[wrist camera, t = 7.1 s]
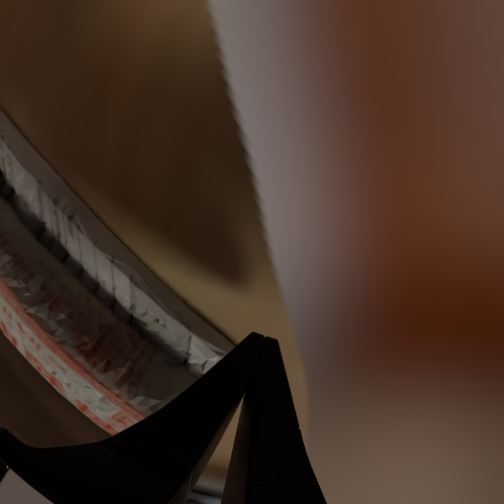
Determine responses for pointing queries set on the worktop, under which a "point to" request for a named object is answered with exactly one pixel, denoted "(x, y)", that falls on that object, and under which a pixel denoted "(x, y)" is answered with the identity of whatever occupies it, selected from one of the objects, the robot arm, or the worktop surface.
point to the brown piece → (39, 406)
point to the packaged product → (89, 300)
